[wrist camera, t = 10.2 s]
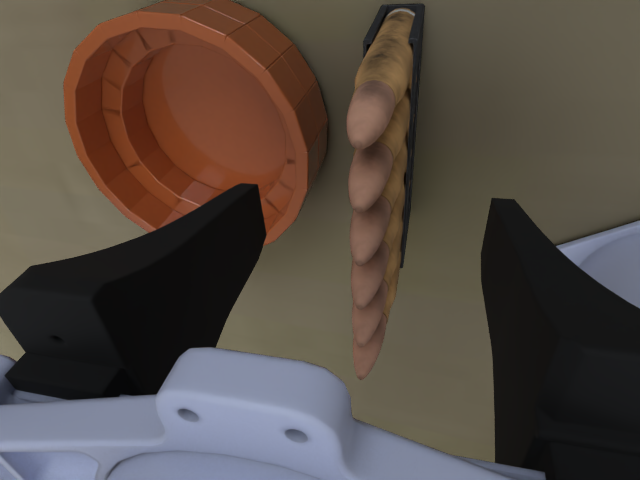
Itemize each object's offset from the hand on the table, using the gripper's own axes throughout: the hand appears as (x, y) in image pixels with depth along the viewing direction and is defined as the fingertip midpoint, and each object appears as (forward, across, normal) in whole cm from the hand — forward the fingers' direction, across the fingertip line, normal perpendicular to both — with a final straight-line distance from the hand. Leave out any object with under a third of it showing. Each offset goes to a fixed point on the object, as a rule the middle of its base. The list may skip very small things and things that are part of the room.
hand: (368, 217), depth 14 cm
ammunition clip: (+10, 0, +1) cm, 10 cm away
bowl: (+10, +9, +1) cm, 14 cm away
